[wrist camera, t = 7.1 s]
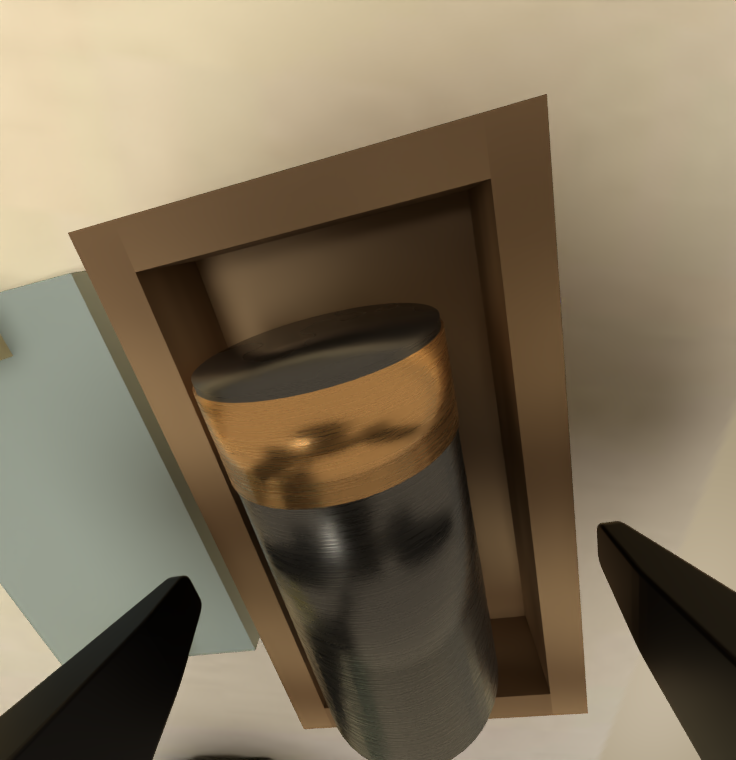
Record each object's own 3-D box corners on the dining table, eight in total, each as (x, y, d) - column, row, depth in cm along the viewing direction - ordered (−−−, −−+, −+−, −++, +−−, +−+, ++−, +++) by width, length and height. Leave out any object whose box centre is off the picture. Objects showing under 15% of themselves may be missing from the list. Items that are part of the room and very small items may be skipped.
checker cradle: (263, 626, 17) (224, 742, 13) (81, 644, 18) (-2, 753, 14) (97, 269, 12) (-47, 291, 8) (-140, 333, 13) (-359, 377, 9)
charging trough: (547, 607, 15) (587, 713, 12) (322, 629, 16) (303, 729, 13) (496, 138, 10) (547, 94, 6) (166, 229, 11) (68, 232, 8)
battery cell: (491, 585, 13) (512, 787, 9) (347, 585, 14) (299, 760, 10) (444, 289, 10) (437, 363, 5) (260, 325, 11) (124, 410, 6)
